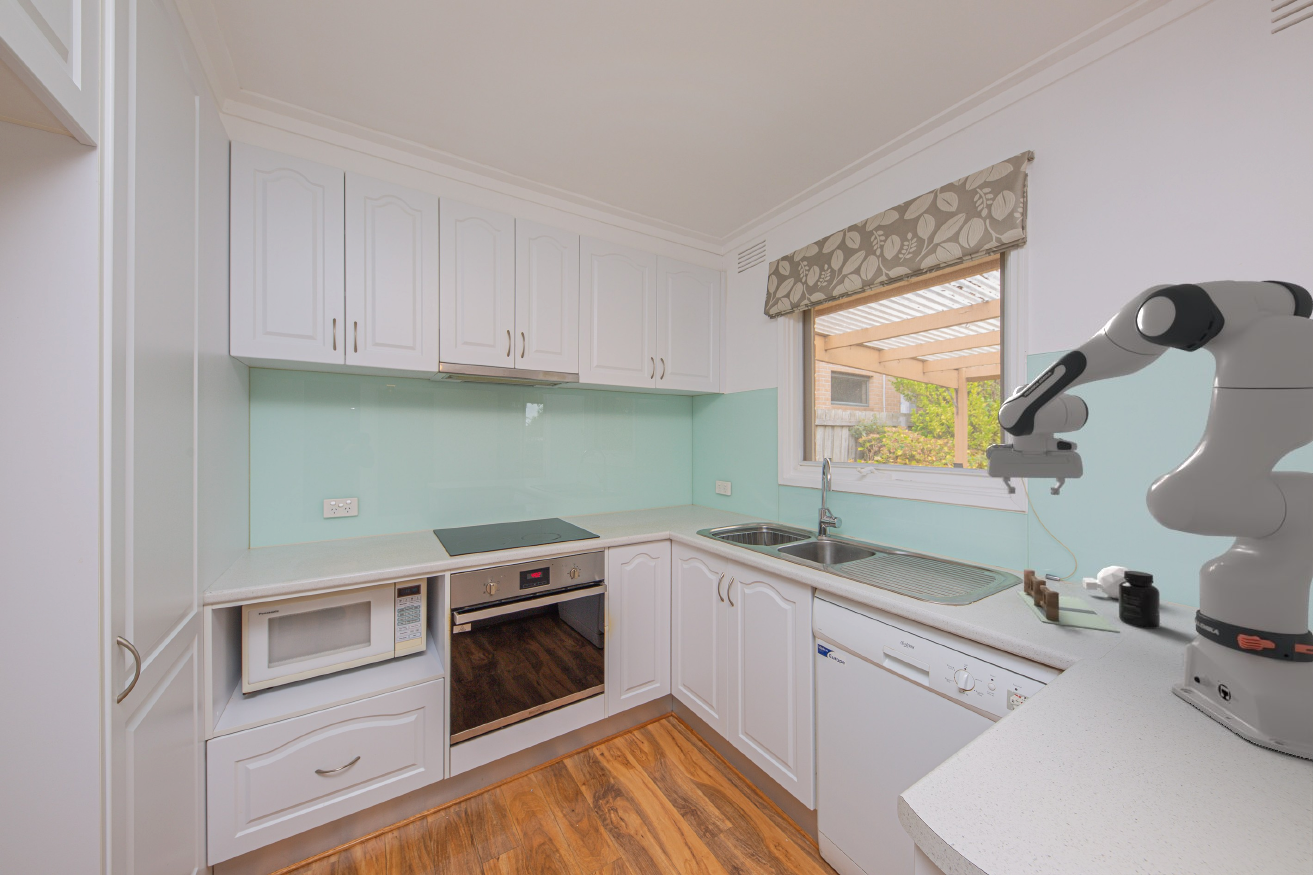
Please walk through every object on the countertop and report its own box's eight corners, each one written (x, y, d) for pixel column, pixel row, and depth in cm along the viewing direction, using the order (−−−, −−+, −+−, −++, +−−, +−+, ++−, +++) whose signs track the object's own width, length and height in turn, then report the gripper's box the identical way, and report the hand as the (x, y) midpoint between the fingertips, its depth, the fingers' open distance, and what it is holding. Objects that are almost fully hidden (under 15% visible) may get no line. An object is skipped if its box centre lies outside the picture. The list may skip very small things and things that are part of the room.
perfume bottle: (1132, 587, 131) (1078, 587, 135) (1132, 559, 128) (1077, 560, 133) (1150, 607, 123) (1092, 606, 128) (1150, 577, 121) (1091, 577, 126)
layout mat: (1119, 632, 105) (1119, 630, 105) (1041, 622, 112) (1041, 620, 112) (1079, 599, 127) (1079, 597, 127) (1016, 592, 133) (1016, 590, 133)
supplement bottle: (1168, 630, 107) (1168, 578, 107) (1133, 627, 108) (1133, 576, 108) (1143, 618, 113) (1143, 569, 113) (1111, 616, 115) (1110, 568, 115)
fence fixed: (1033, 604, 123) (1032, 578, 123) (1044, 606, 122) (1044, 579, 122) (1047, 621, 112) (1047, 592, 112) (1060, 623, 111) (1060, 594, 111)
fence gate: (1043, 601, 123) (1042, 578, 123) (1031, 600, 124) (1031, 577, 124) (1033, 591, 131) (1033, 569, 131) (1022, 590, 132) (1022, 568, 132)
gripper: (987, 445, 128) (988, 494, 128) (1085, 443, 118) (1085, 497, 119) (983, 443, 133) (984, 490, 134) (1076, 441, 124) (1076, 493, 124)
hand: (1032, 494), depth 126 cm, fingers open, 8 cm apart
